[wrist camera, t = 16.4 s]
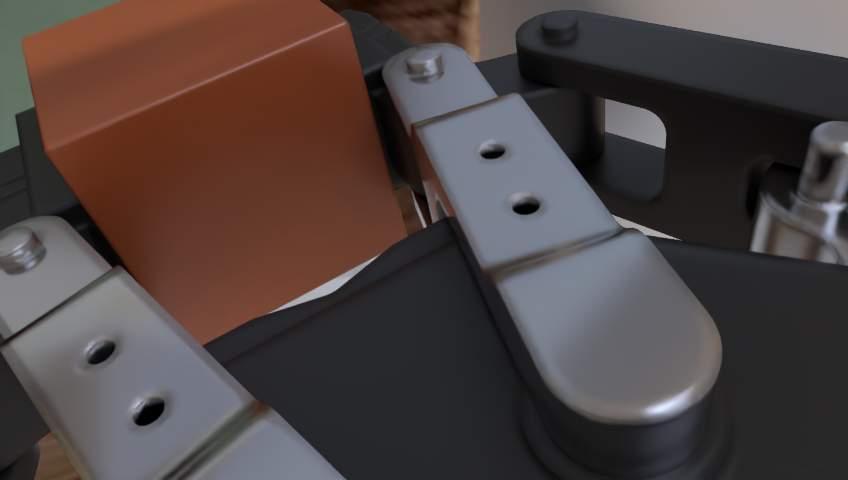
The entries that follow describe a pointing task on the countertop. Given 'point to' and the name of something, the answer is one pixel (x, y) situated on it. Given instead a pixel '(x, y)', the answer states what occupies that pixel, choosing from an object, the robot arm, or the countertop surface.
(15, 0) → the cabinet
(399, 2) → the countertop surface
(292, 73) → the block
